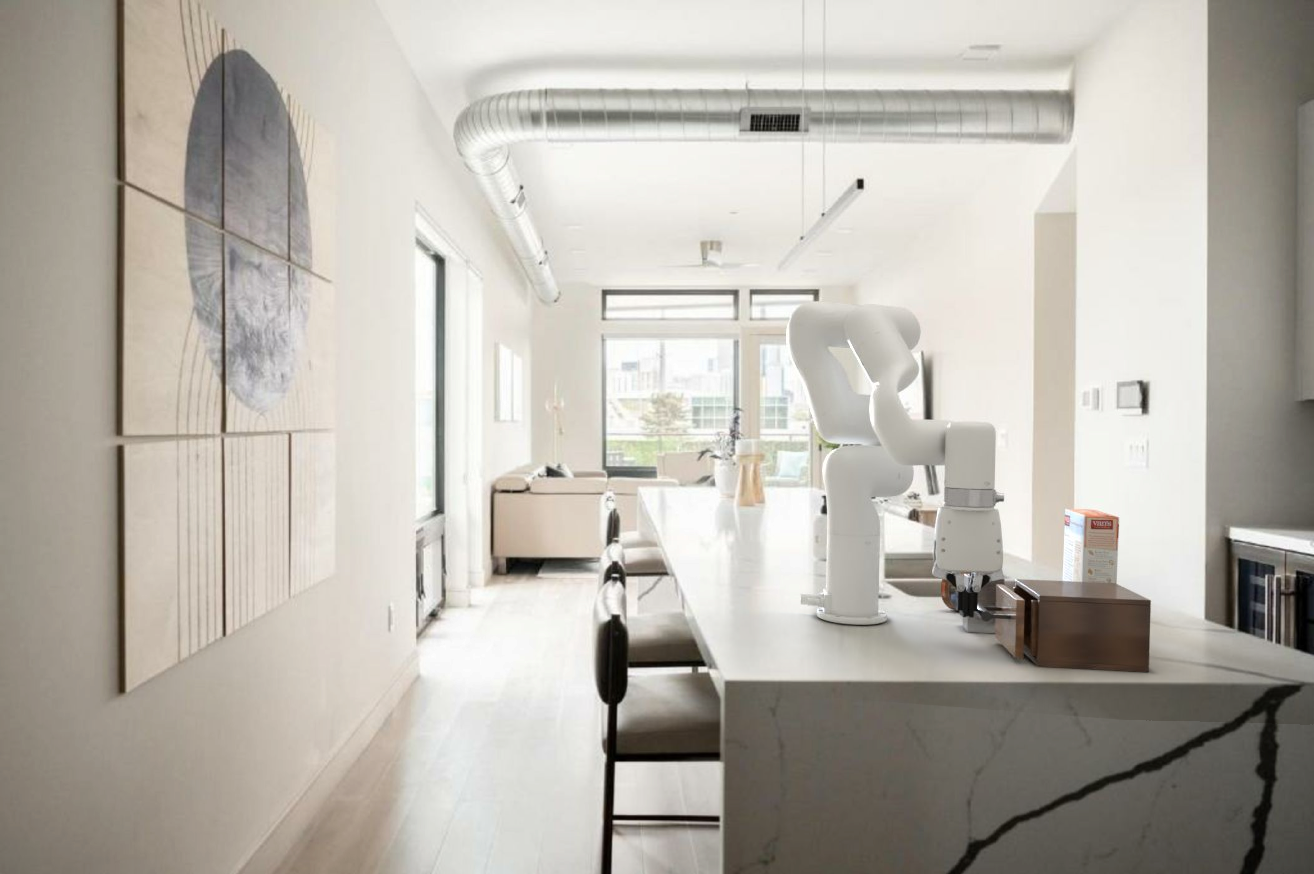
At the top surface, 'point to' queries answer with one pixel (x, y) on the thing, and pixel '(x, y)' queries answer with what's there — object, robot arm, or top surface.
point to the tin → (949, 593)
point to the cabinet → (1090, 625)
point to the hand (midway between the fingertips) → (966, 615)
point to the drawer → (1013, 619)
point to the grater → (985, 599)
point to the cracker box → (1090, 546)
